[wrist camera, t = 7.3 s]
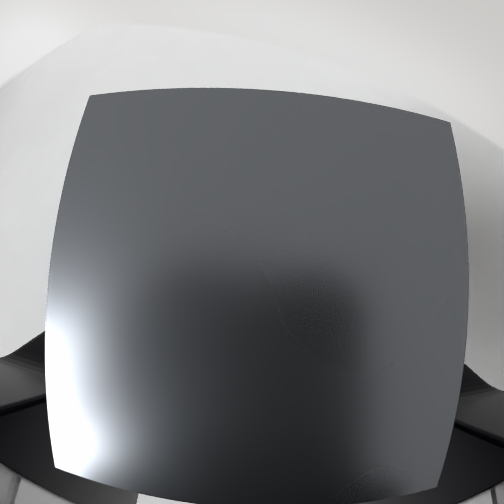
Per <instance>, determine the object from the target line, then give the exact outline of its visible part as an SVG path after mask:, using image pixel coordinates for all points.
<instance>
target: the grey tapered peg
mask: <svg viewBox="0 0 504 504" xmlns="http://www.w3.org/2000/svg"><path fill="white" fill-rule="evenodd" d="M468 294H469V270H468V243H467V228H466V216H465V207H464V198H463V190H462V183H461V176H460V170H459V164H458V158H457V153H456V147H455V142H454V138H453V133H452V128H451V124H450V122H447V121H443V120H440V119H436V118H433V117H429V116H425V115H421V114H417V113H413V112H409V111H405V110H400V109H396V108H391V107H386V106H382V105H377V104H371V103H366V102H361V101H355V100H349V99H342V98H336V97H329V96H322V95H314V94H305V93H296V92H285V91H273V90H258V89H237V88H173V89H152V90H138V91H126V92H116V93H107V94H99V95H91V96H90V97H89V100H88V102H87V105H86V108H85V111H84V114H83V117H82V120H81V123H80V126H79V130H78V133H77V136H76V140H75V143H74V146H73V150H72V154H71V157H70V161H69V165H68V169H67V173H66V177H65V181H64V186H63V190H62V195H61V200H60V205H59V210H58V215H57V221H56V226H55V232H54V239H53V246H52V253H51V261H50V269H49V279H48V290H47V304H46V324H45V375H46V395H47V408H48V419H49V428H50V436H51V443H52V450H53V456H54V462H55V467H56V468H59V469H61V470H64V471H67V472H69V473H72V474H75V475H78V476H81V477H84V478H87V479H90V480H93V481H96V482H99V483H102V484H106V485H109V486H113V487H116V488H120V489H124V490H128V491H132V492H136V493H140V494H145V495H149V496H154V497H159V498H164V499H170V500H175V501H181V502H188V503H195V504H358V503H365V502H372V501H378V500H383V499H389V498H394V497H399V496H403V495H408V494H412V493H416V492H420V491H424V490H428V489H432V488H435V487H437V484H438V481H439V478H440V474H441V471H442V468H443V464H444V461H445V457H446V454H447V450H448V446H449V442H450V438H451V434H452V429H453V425H454V420H455V415H456V410H457V405H458V400H459V394H460V388H461V381H462V374H463V366H464V357H465V348H466V336H467V321H468Z"/></svg>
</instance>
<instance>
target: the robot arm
mask: <svg viewBox="0 0 504 504" xmlns="http://www.w3.org/2000/svg"><path fill="white" fill-rule="evenodd" d="M138 494H139V493H136V492H132V491H128V490H124V489H120V488H116V487H113V486H109V485H106V484H102V483H99V482H96V481H93V480H90V479H87V478H84V477H81V476H78V475H75V474H72V473H69V472H67V471H64V470H61V469H59V468H56V467H55V462H54V456H53V450H52V443H51V436H50V428H49V419H48V408H47V395H46V375H45V331H44V332H43V333H41V334H40V335H38V336H37V337H35V338H34V339H32V340H31V341H29V342H28V343H26V344H25V345H23V346H22V347H20V348H19V349H17V350H16V351H14V352H13V353H11V354H9V355H7V356H4V357H1V358H0V504H136V503H137V498H138ZM358 504H504V391H502V390H499V389H496V388H494V387H492V386H491V385H489V384H487V383H486V382H485V381H484V380H482V379H481V378H480V377H479V376H478V375H477V374H476V373H475V372H473V371H472V370H471V369H470V368H469V367H468V366H467V365H466V364H464V366H463V374H462V381H461V388H460V394H459V400H458V405H457V410H456V415H455V420H454V425H453V429H452V434H451V438H450V442H449V446H448V450H447V454H446V457H445V461H444V464H443V468H442V471H441V474H440V478H439V481H438V484H437V487H435V488H432V489H428V490H424V491H420V492H416V493H412V494H408V495H403V496H399V497H394V498H389V499H383V500H378V501H372V502H365V503H358Z"/></svg>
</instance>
